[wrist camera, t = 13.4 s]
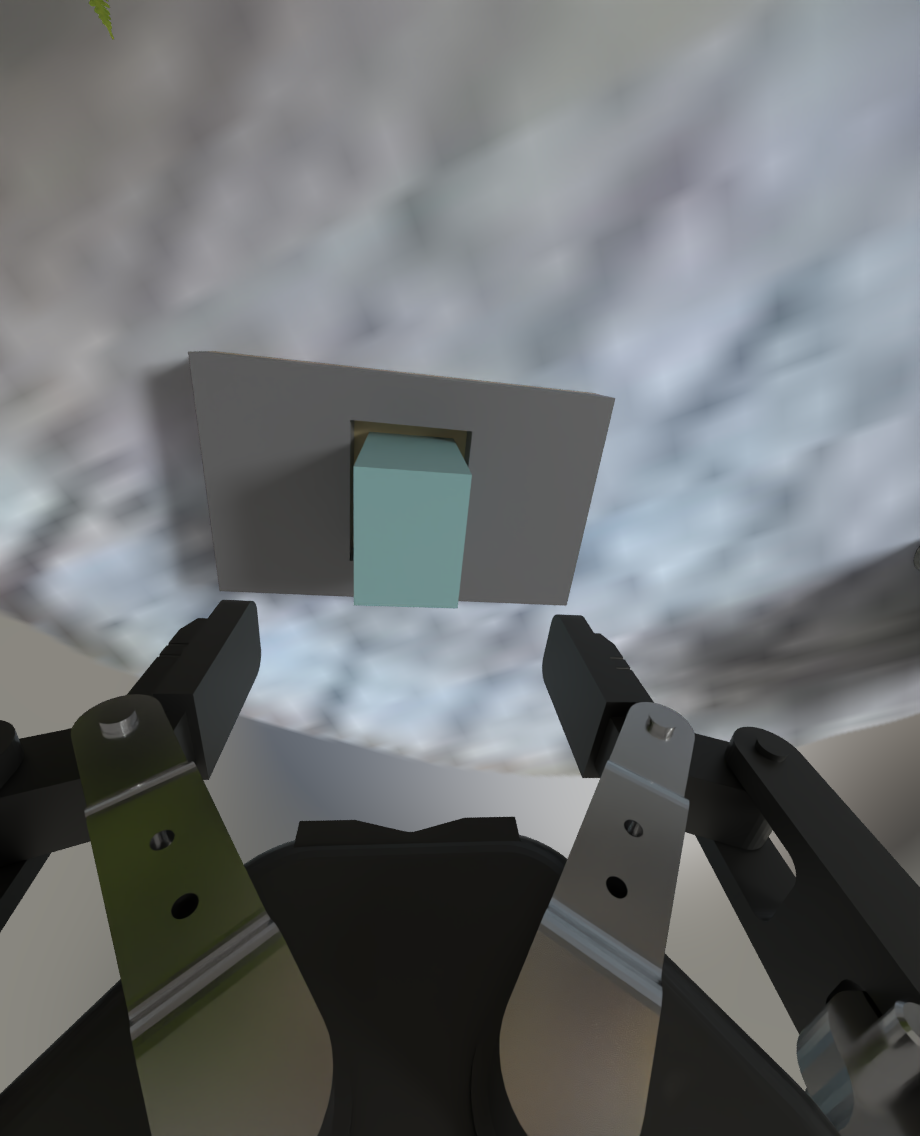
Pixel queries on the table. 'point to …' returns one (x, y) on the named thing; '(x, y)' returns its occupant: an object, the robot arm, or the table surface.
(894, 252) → the table surface
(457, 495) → the plug
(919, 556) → the hip flask
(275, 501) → the block
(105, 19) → the fern plant
